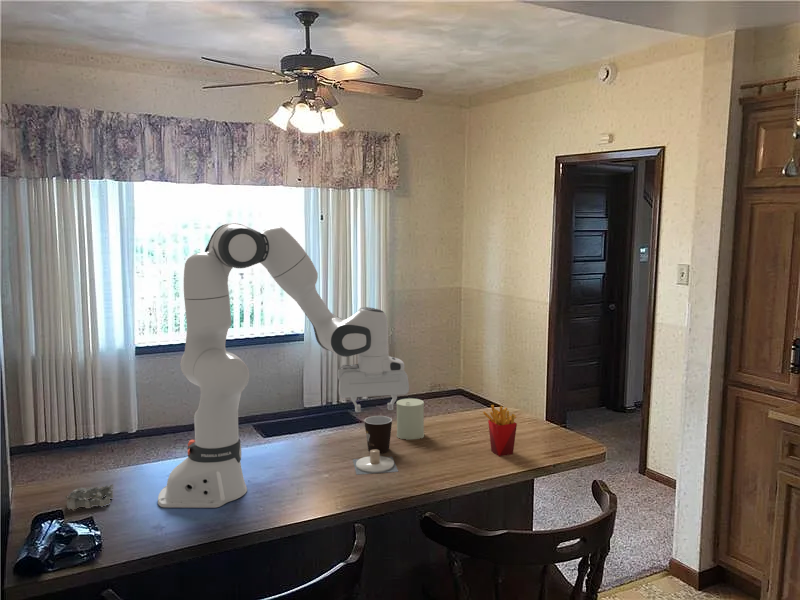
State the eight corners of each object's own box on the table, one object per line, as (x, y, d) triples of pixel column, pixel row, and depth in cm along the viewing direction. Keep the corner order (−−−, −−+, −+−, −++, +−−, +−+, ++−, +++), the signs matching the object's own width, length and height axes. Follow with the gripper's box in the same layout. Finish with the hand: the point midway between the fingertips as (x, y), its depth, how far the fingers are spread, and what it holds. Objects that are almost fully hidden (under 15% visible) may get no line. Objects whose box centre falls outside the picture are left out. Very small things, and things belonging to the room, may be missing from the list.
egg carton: (64, 512, 168) (62, 497, 168) (73, 500, 176) (71, 485, 175) (109, 508, 170) (107, 493, 170) (116, 496, 177) (115, 481, 177)
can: (393, 439, 220) (392, 403, 218) (401, 430, 228) (400, 396, 227) (420, 441, 217) (419, 405, 216) (427, 432, 226) (427, 398, 224)
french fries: (506, 447, 210) (506, 401, 209) (520, 456, 203) (520, 408, 201) (481, 451, 207) (481, 404, 205) (494, 460, 200) (494, 411, 198)
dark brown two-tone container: (392, 456, 204) (391, 424, 203) (363, 456, 204) (363, 424, 203) (393, 443, 216) (392, 413, 215) (366, 443, 216) (365, 413, 215)
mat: (356, 475, 189) (356, 474, 189) (352, 460, 201) (352, 459, 201) (398, 472, 191) (398, 471, 191) (392, 457, 203) (392, 456, 203)
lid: (358, 473, 190) (357, 459, 189) (354, 459, 200) (354, 445, 200) (396, 471, 191) (396, 456, 191) (390, 457, 202) (390, 443, 202)
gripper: (337, 367, 187) (339, 415, 189) (409, 364, 191) (410, 411, 192) (336, 362, 193) (337, 409, 195) (406, 359, 197) (406, 405, 199)
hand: (374, 410), depth 194 cm, fingers open, 8 cm apart
